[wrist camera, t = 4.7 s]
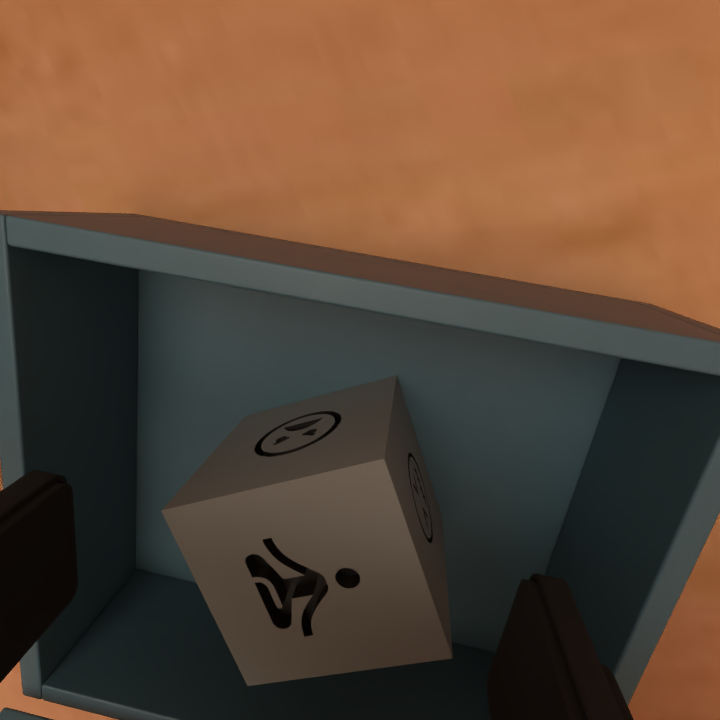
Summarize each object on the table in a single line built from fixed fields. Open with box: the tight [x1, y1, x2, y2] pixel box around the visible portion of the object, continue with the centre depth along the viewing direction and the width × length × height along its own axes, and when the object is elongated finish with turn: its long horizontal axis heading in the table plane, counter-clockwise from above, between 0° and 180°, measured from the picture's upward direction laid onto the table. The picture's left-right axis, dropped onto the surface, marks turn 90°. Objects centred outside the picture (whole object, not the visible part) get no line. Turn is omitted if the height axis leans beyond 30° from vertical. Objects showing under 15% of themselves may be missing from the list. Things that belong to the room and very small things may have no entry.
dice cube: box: [161, 375, 453, 686], centre depth 12 cm, size 5×5×5 cm
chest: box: [0, 210, 720, 720], centre depth 13 cm, size 13×15×5 cm
